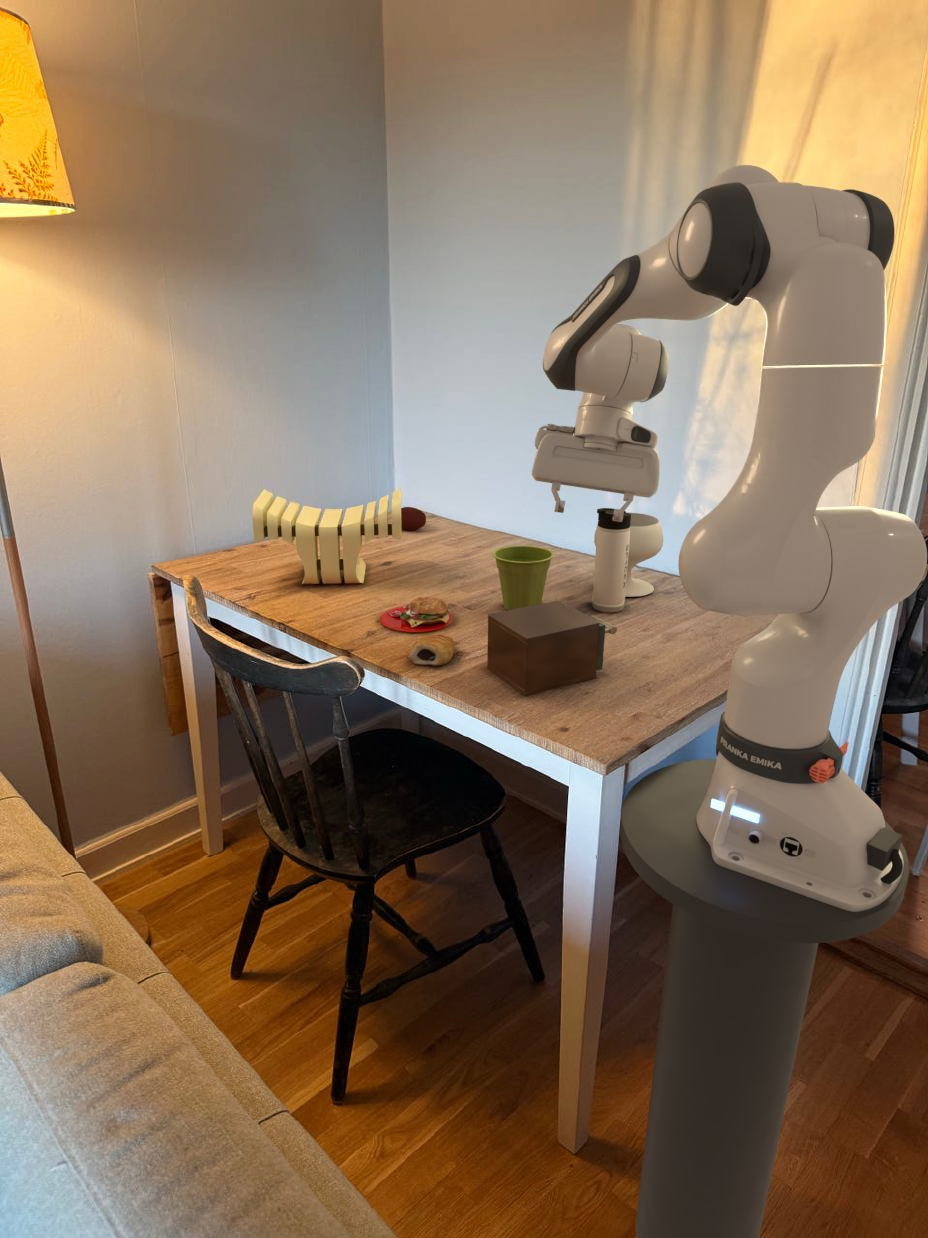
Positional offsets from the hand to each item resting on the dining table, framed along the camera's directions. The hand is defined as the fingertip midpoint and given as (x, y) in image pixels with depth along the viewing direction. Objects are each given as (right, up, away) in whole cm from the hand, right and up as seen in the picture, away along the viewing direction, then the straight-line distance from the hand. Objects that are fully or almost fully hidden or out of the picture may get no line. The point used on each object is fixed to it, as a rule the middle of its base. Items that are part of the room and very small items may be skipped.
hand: (588, 516), depth 133 cm
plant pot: (-9, -14, +31) cm, 35 cm away
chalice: (+14, -10, +41) cm, 45 cm away
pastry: (-25, -23, +8) cm, 35 cm away
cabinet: (-7, -25, +2) cm, 26 cm away
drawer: (-4, -24, +4) cm, 24 cm away
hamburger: (-29, -17, +24) cm, 41 cm away
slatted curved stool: (-48, -7, +48) cm, 69 cm away
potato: (-34, +7, +85) cm, 92 cm away
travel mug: (+8, -14, +31) cm, 35 cm away
